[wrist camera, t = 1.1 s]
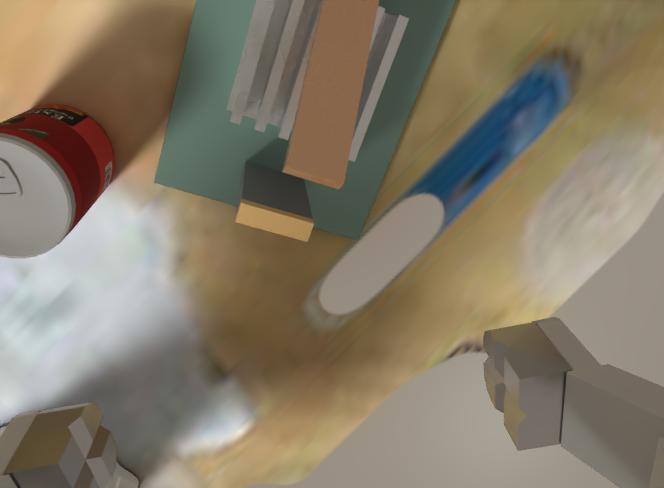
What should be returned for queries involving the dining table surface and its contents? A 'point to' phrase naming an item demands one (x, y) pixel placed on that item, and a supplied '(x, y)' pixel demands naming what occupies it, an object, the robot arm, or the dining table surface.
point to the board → (266, 147)
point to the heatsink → (301, 65)
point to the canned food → (49, 176)
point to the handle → (331, 92)
